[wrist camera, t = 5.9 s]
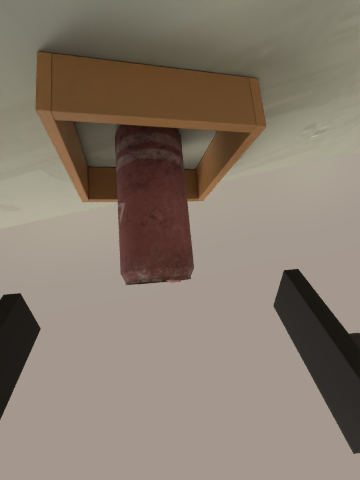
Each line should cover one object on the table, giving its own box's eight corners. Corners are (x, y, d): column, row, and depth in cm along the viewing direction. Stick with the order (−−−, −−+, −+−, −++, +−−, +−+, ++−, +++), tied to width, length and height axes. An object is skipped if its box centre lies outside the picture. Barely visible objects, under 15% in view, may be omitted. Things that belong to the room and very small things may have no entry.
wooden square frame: (81, 170, 28) (82, 202, 27) (36, 50, 14) (35, 110, 13) (199, 172, 31) (202, 201, 31) (258, 78, 17) (266, 126, 17)
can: (158, 158, 27) (167, 283, 24) (104, 140, 23) (109, 287, 20) (195, 129, 22) (212, 278, 20) (136, 100, 18) (148, 283, 16)
